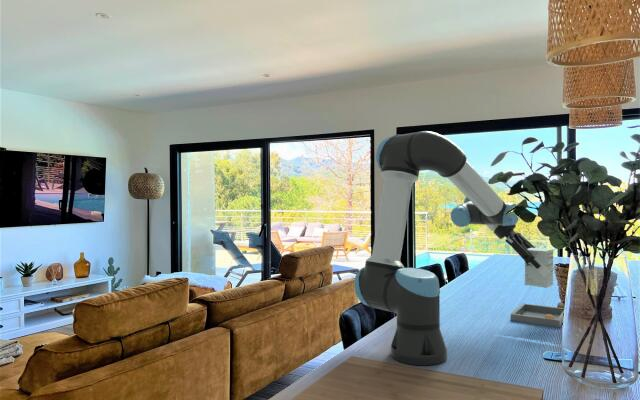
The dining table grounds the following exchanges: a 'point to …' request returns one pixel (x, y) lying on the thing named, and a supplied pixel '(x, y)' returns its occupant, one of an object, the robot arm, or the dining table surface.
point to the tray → (538, 315)
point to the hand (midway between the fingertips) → (549, 272)
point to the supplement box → (533, 275)
